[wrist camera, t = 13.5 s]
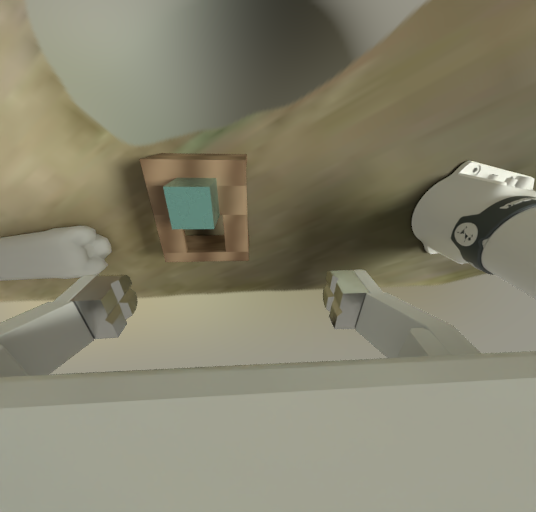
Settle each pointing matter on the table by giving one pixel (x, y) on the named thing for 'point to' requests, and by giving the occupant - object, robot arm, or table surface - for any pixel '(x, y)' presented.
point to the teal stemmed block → (192, 203)
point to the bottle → (53, 254)
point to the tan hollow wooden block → (229, 198)
